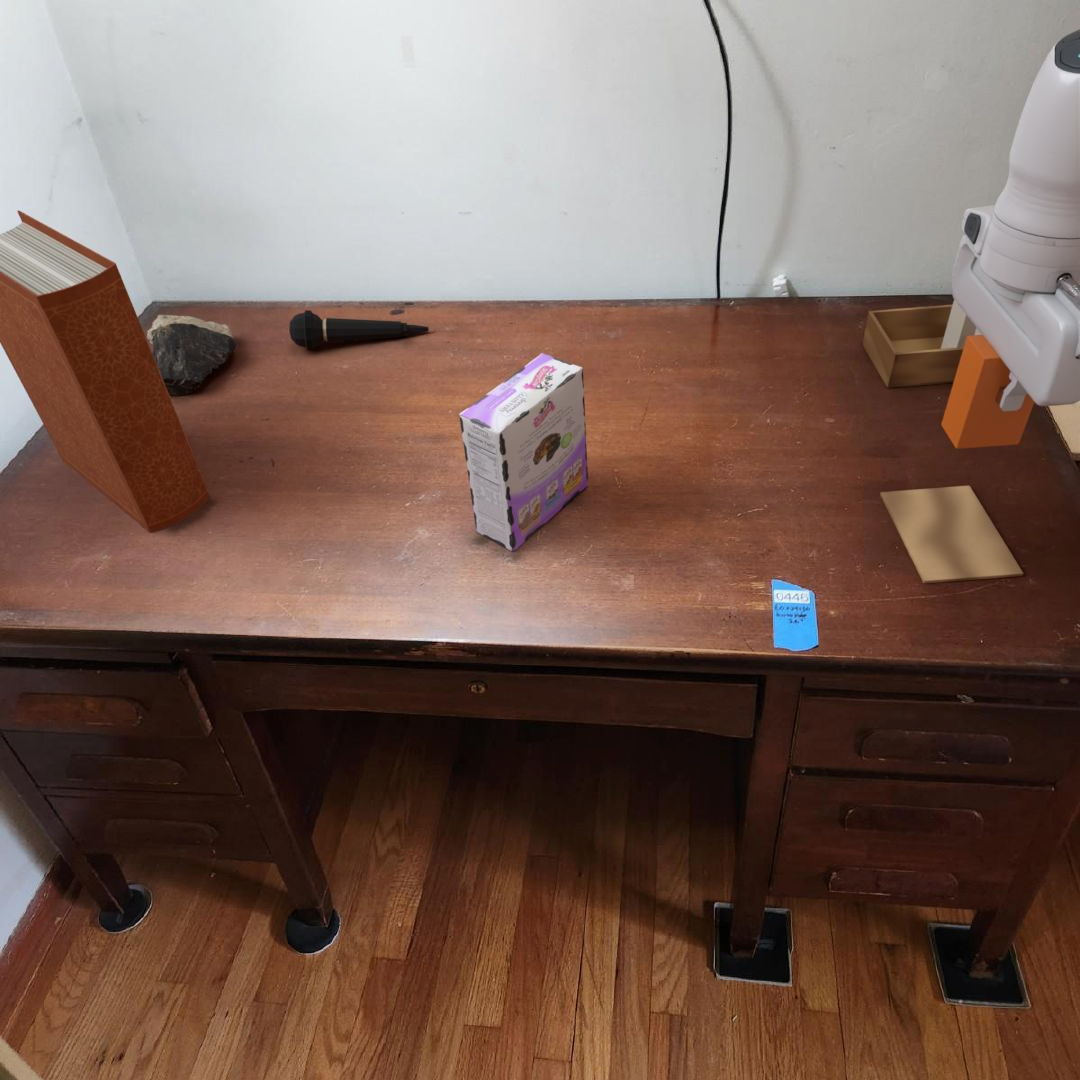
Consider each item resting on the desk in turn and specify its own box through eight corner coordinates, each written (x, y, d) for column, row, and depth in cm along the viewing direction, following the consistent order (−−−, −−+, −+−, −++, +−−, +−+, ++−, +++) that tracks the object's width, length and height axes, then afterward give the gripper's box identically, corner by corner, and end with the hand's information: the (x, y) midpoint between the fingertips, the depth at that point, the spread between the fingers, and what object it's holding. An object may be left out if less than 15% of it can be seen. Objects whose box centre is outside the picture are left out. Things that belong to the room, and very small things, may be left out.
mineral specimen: (219, 297, 134) (239, 335, 123) (233, 343, 139) (253, 384, 128) (130, 317, 130) (142, 359, 119) (146, 364, 135) (160, 408, 124)
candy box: (550, 469, 109) (542, 349, 98) (590, 487, 107) (586, 366, 95) (474, 532, 102) (455, 411, 91) (513, 553, 99) (500, 431, 88)
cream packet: (985, 345, 122) (1006, 276, 116) (997, 361, 120) (1020, 291, 113) (940, 349, 123) (959, 280, 116) (951, 365, 120) (971, 295, 113)
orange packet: (1001, 420, 90) (1032, 330, 83) (1019, 444, 87) (1053, 353, 80) (940, 424, 90) (967, 335, 83) (956, 449, 87) (984, 358, 80)
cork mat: (968, 488, 102) (969, 485, 102) (1022, 576, 92) (1023, 573, 92) (879, 494, 102) (880, 492, 102) (923, 583, 92) (924, 580, 92)
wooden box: (985, 334, 125) (995, 301, 122) (1019, 378, 117) (1031, 343, 114) (861, 343, 125) (868, 310, 122) (887, 388, 117) (895, 354, 114)
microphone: (428, 344, 138) (292, 346, 135) (427, 305, 136) (289, 307, 133) (429, 352, 133) (289, 354, 130) (428, 312, 131) (285, 313, 128)
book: (63, 460, 117) (-56, 237, 96) (121, 430, 121) (18, 210, 101) (154, 536, 105) (41, 300, 84) (215, 500, 109) (121, 266, 89)
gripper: (1146, 308, 68) (1082, 455, 77) (1026, 197, 83) (985, 332, 92) (1061, 314, 68) (1007, 461, 77) (956, 203, 83) (922, 337, 92)
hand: (994, 390), depth 85 cm, fingers closed on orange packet, 4 cm apart
